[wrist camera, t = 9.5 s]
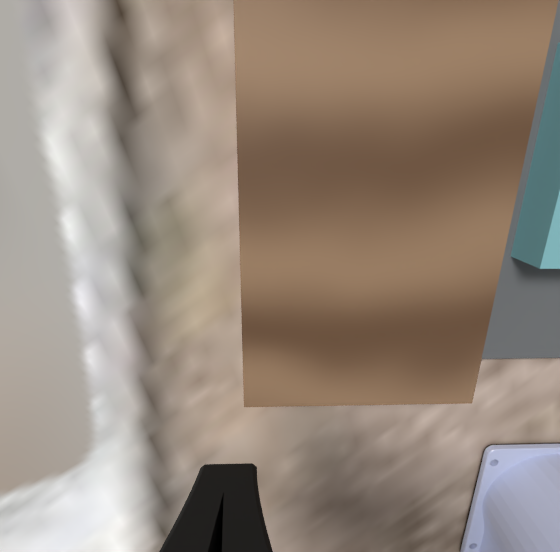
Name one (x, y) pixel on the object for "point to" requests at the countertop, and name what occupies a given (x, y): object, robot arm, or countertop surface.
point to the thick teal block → (543, 188)
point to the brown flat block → (377, 190)
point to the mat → (527, 271)
